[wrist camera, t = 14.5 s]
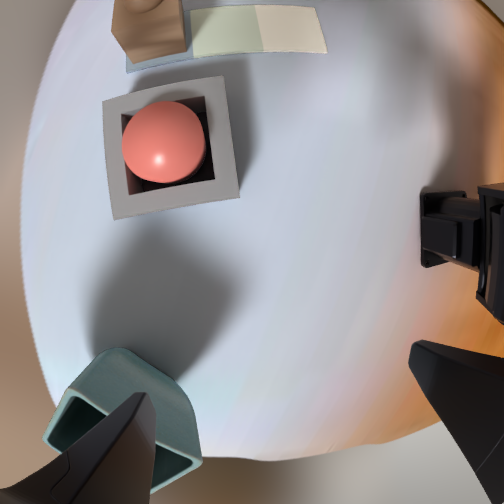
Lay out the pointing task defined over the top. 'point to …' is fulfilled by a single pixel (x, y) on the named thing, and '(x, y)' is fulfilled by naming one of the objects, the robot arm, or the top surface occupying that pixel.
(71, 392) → the flower pot
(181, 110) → the pink push button
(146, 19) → the cube with dome knob
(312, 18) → the mat
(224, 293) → the top surface
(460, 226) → the robot arm
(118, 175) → the button housing
